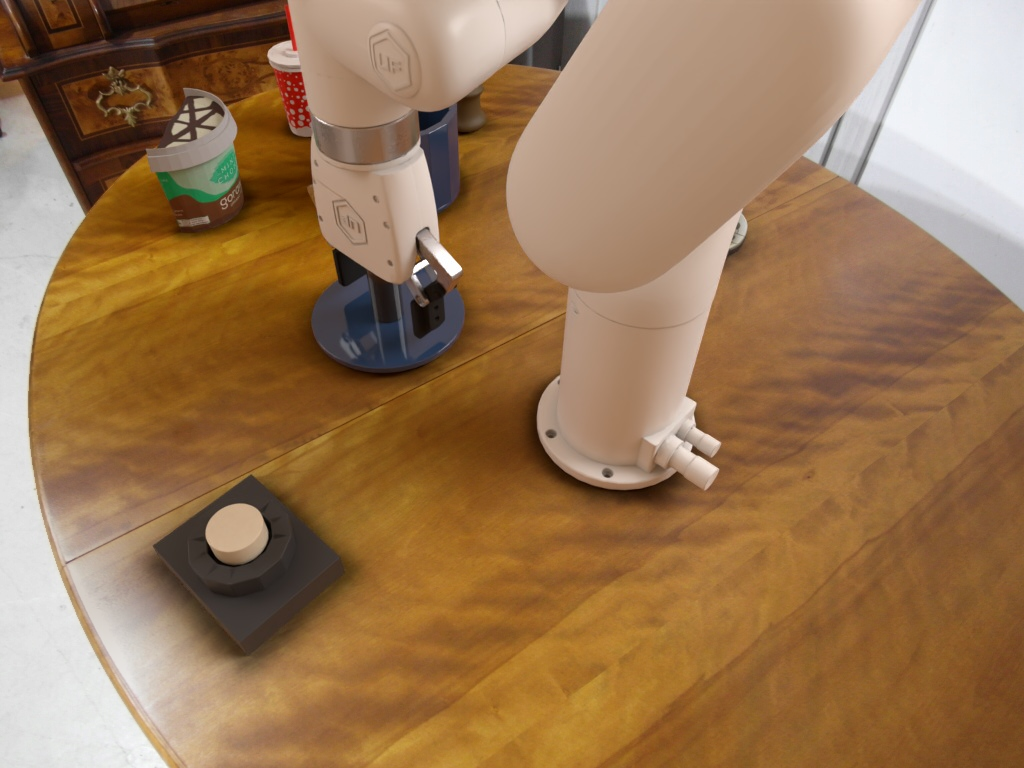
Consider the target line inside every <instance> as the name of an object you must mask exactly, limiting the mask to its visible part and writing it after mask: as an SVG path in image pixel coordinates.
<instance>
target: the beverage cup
mask: <svg viewBox="0 0 1024 768" xmlns="http://www.w3.org/2000/svg"><path fill="white" fill-rule="evenodd" d="M283 6H284V11H285V12H284V13H285V16H286V17H285V18H286V21H287V26H288V33H289V36H290V37H289V38H290V40H286V41H282V42H279V43H277V44H275V45H273V46H272V47H270V49H268V52H267V59H268V63H269V64H270V66H271V68H272V69H273V73H274V76H275V80H276V83H277V87H278V90H279V93H280V97H281V101H282V105H283V108H284V111H285V114H286V118H287V122H288V125H289V128H290V129H289V130H290V131H291V132H292V134H294V135H296V136H297V137H305V138H309V137H310V138H312V133H313V127H312V122H311V117H310V112H309V107H308V102H307V97H306V91H305V86H304V81H303V76H302V71H301V66H300V61H299V56H298V51H297V46H296V41H295V35H294V30H293V25H292V20H291V15H290V10H289V5H288V3H286V4H283Z"/></svg>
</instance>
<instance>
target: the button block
mask: <svg viewBox="0 0 1024 768" xmlns="http://www.w3.org/2000/svg"><path fill="white" fill-rule="evenodd" d="M233 504H248V505H251V506H253V507H255V508H256V509H257V510H258V511H259V512H260V513H261V515H262V517H263V520H264V522H265V524H266V527H267V529H268V533H269V538H268V543H267V545H266V547H265V549H264V550H263V552H262V553H261V554H260V555H259V556H258V557H256V558H255V559H254V560H252V561H250V562H248V563H245V564H241V565H229V564H225V563H223V562H221V561H220V560H218V559H217V558H216V556H215V555H214V553H213V551H212V549H211V547H210V545H209V544H208V542H207V539H206V527H207V524H208V522H209V520H210V519H211V518H212V516H213V515H214V514H215V513H217V512H218V511H219V510H221V509H222V508H224V507H226V506H229V505H233ZM152 548H153V550H154V551H155V553H156V555H157V556H158V557H159V559H160V560H161V562H162V563H163V564H164V566H165V567H166V568H167V569H168V570H169V571H170V572H171V573H172V574H173V575H174V576H175V578H176V579H177V580H178V581H179V582H180V583H181V584H182V585H183V586H184V588H185V589H186V590H187V591H188V592H189V593H190V594H191V595H192V597H193V598H195V599H196V601H197V602H198V603H199V604H200V605H201V606H202V607H203V609H204V610H205V611H206V612H207V613H208V614H209V616H211V618H212V619H213V620H214V621H215V622H216V623H217V624H218V626H219V627H221V628H222V629H223V631H224V632H225V633H226V634H227V635H228V637H230V639H232V641H234V643H235V644H236V645H237V647H239V648H240V650H242V652H243V653H244V654H245V655H246V656H247V657H250V656H251V655H252V654H253V653H254V652H255V651H256V650H258V649H259V648H260V647H261V646H262V645H264V643H266V642H267V641H268V640H269V639H270V638H272V636H274V635H275V634H276V633H277V632H278V631H279V630H280V629H282V628H283V627H284V626H285V625H286V624H287V623H289V622H290V621H291V620H292V619H293V618H295V617H296V616H297V615H298V614H300V612H302V611H303V610H304V609H305V608H306V607H307V606H308V605H310V604H311V603H312V602H313V601H314V600H315V599H317V598H318V597H319V596H320V595H321V594H322V593H323V592H325V590H327V589H328V588H329V587H330V586H331V585H332V584H334V583H335V582H336V581H337V580H338V579H339V578H341V577H342V576H343V575H344V574H345V573H346V571H345V568H344V565H343V562H342V558H341V556H340V555H339V553H337V552H336V551H334V549H332V548H331V546H329V545H328V544H327V542H325V541H324V540H323V539H322V538H320V537H319V536H318V535H317V534H316V533H315V532H314V531H313V530H312V529H311V528H310V527H309V526H308V525H307V524H305V523H304V522H303V520H301V518H299V517H298V516H297V515H296V514H295V513H294V512H292V511H291V509H289V508H288V507H287V506H286V504H284V503H283V502H282V501H281V500H280V499H278V497H277V496H275V494H273V493H272V492H271V491H270V490H269V489H268V488H267V487H266V486H265V485H263V483H262V482H261V481H260V480H259V479H257V478H256V477H255V476H254V475H253V474H249V475H248V476H246V477H245V478H244V479H242V480H241V481H239V482H237V484H235V485H234V486H233V487H231V488H230V489H229V490H227V491H226V492H224V493H223V494H222V495H220V496H219V497H217V498H216V499H215V500H213V501H212V502H211V503H210V504H208V505H207V506H205V507H204V508H203V509H201V510H200V511H198V512H197V513H196V514H194V515H193V516H191V517H190V518H189V519H187V520H186V521H184V522H183V523H182V524H180V525H178V527H176V528H175V529H173V530H172V531H171V532H169V533H168V534H167V535H165V536H164V537H163V538H161V539H160V540H158V541H157V542H156V543H154V544H153V545H152Z"/></svg>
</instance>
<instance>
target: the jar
mask: <svg viewBox="0 0 1024 768" xmlns="http://www.w3.org/2000/svg"><path fill="white" fill-rule="evenodd" d="M418 117H419V129H420V147H421V148H422V149H423V151H424V155H425V158H426V162H427V166H428V170H429V174H430V178H431V183H432V188H433V193H434V199H435V204H436V211H437V215H438V214H439V213H442V212H443V211H445V210H446V209H448V208H449V207H450V206H451V205H452V204H453V203H454V202H455V200H457V197H458V196H459V194H460V190H461V175H460V174H461V173H460V172H461V171H460V170H461V169H460V147H459V146H460V145H459V131H458V118H457V102H456V103H455V104H453V105H452V106H450V107H448V108H445V109H442V110H439V111H433V112H424V111H418Z"/></svg>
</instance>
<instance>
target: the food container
mask: <svg viewBox="0 0 1024 768" xmlns="http://www.w3.org/2000/svg"><path fill="white" fill-rule="evenodd" d="M182 90H183V93H184V97H185V99H184V100H183V103H182V105H181V107H180V108H179V110H178V111H177V112H176V113H175V114H174V115H173V117H171V119H169V121H168V123H167V125H166V127H165V130H164V133H163V135H162V137H161V140H160V141H159V143H158V145H157V146H156V148H145V151H146V154H147V156H146V157H147V162H148V166H149V169H150V173H155V176H156V177H157V180H158V182H159V184H160V186H161V189H162V191H163V193H164V195H165V197H166V199H167V202H168V204H169V206H170V208H171V210H172V213H173V215H174V217H175V220H176V222H177V225H178V227H179V229H180V231H181V232H182V233H195V232H202V231H207V230H211V229H214V228H216V227H218V226H222V225H224V224H225V223H227V222H229V221H230V220H232V219H234V218H235V217H236V216H237V215H238V214H239V213H240V212H241V210H242V209H243V207H244V204H245V196H244V191H243V186H242V181H241V176H240V175H241V174H240V170H239V166H238V160H237V155H236V154H237V153H236V149H235V144H234V141H235V140H236V137H237V134H238V126H237V122H236V121H235V119H234V117H233V115H232V113H231V111H230V109H229V108H228V107H227V106H226V104H225V103H224V102H223V100H221V98H220V97H218V96H216V94H213V93H211V92H209V91H205V90H202V89H198V88H190V87H183V88H182Z"/></svg>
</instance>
